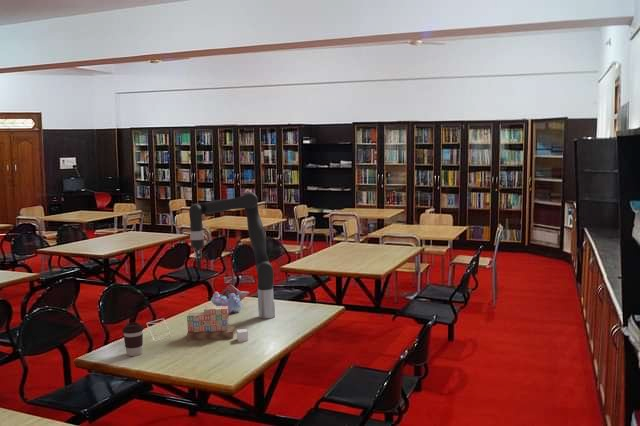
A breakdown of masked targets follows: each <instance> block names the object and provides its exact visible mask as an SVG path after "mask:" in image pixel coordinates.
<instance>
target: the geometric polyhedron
mask: <svg viewBox="0 0 640 426" xmlns="http://www.w3.org/2000/svg"><path fill="white" fill-rule="evenodd" d="M159 320H161V321H160V323H159V322H158V323H157V321H159ZM162 322H163V323H162ZM148 324H149V325H151V324H153V325H155V324H156V325H158V326H157V327H156V330H155V331H154V332H153V333H152V331H151V329H150V326H149V325H148ZM160 325H163V326H162V327H161V330H160V331H159V333H158V335H157V334H155V333H156V331H157V330H158V328H159V327H160ZM146 326H147V329H148V331H149V333H150V335H151V338H152V339H153V341H155V342H157V341H160V340H163V339H166V338H170V337H171V336H172V335H171V333H170V329H169V327H168V325H167V323H166V321H165V318H160V319H156V320H152V321H149V322H146ZM164 326H165V327H166V328H167V331H168V332H169V335H168V336H165V337H163V338H160V339H158V337H161V334H160V333H161V332H162V330H163V329H164ZM155 336H156V337H155ZM154 337H155V338H154ZM156 339H157V340H156Z"/></svg>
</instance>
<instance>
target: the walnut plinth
mask: <svg viewBox="0 0 640 426" xmlns="http://www.w3.org/2000/svg"><path fill="white" fill-rule="evenodd" d="M235 331H236V330H235V326H229V329H228V331H212V332H188V331H187V333H186V340H187V341H203V340H207V341H208V340H226V339H228V340H229V339H230V340H231V339H232V340H233V339H234V336H235Z"/></svg>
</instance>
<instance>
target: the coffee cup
mask: <svg viewBox="0 0 640 426" xmlns="http://www.w3.org/2000/svg"><path fill="white" fill-rule="evenodd" d="M121 329H122V331H121V332H122V333H123V339H124V341H123V342H124V347H125V351H126V355H127V356H128V357H136V356H140V355H142V353H143V343H144V341H143V340H144V339H143V338H144V337H143V335H144V334H143V331H144V325H142V324H141V323H139V322H128V323H127V324H125V326H124V327H123V328H121Z"/></svg>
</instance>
